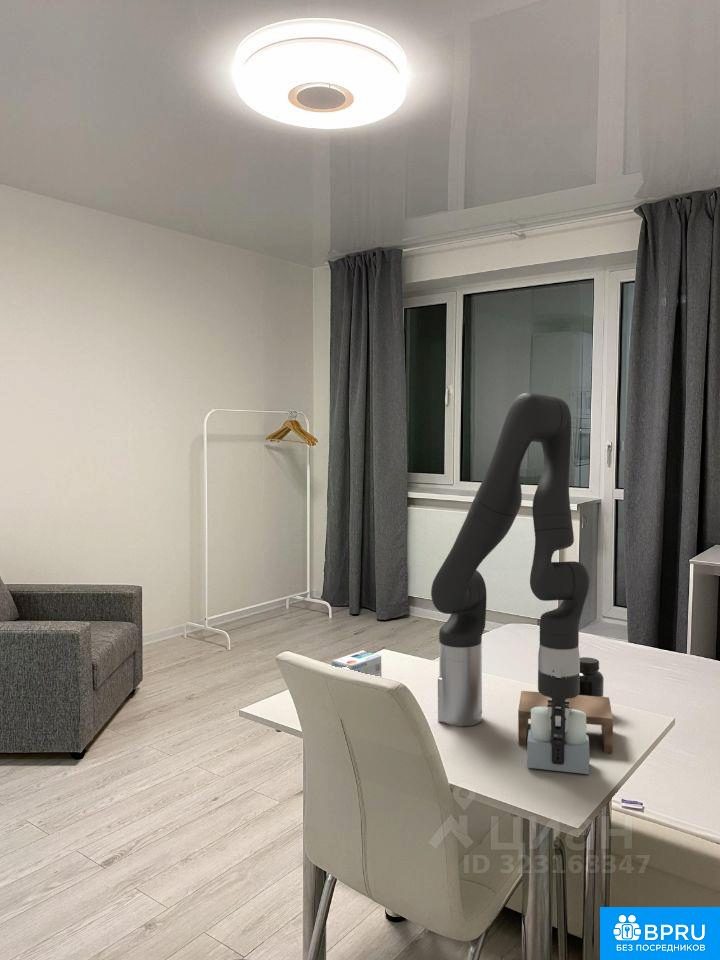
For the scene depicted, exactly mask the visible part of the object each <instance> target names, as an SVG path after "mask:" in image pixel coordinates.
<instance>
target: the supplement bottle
mask: <svg viewBox="0 0 720 960" xmlns="http://www.w3.org/2000/svg"><path fill="white" fill-rule="evenodd" d="M599 670H600V661H599V660H598V659H597V658H595V657H589V656H588V657H584V656H583V657H580V692H579V695H585V696H598V697H604V681H605V680H604V675H603V674H602V673H601V671H599Z"/></svg>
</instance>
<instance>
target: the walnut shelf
mask: <svg viewBox="0 0 720 960" xmlns="http://www.w3.org/2000/svg"><path fill="white" fill-rule="evenodd" d="M519 697H520V698H519V702H518V703H519V704H518V711H517V712H518V713H517V715H518V718H517V719H518V720H517V724H518V725H517V730H518V731H517V732H518V735H517V737H518V739H517V740H518V741H517V742H518V744H520V745H519V746H525V745H526V746H527V740H528V732H529V720H531V709H532V708H534V707H547V705H548V700H552V699H551V698H550V697H548V696H547V697H546V696H544V695H542V694H541V693H540V692H539V691H532V690H531V691H530V690H529V691H528V690H521V691H520V696H519ZM565 701H569V709H574V710H580V711H583V712H584V713H586V725H593V726H595V725H597V726H600V727H601V728H600V729H601V730H602V731H601V737H603V738H602V744H603V751H604V754H609V753H613V752H614V749H613V748H614V745H613V744H614V740H613V739H614V718H613V711H612V707H611V702H610V697H609V696H608V697H607V696H603V697H598V696H585V695H578V696H576V697H575V698H571V699H570V698H569V699H566V700H565ZM613 754H614V753H613Z"/></svg>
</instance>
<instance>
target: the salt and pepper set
mask: <svg viewBox="0 0 720 960" xmlns="http://www.w3.org/2000/svg"><path fill="white" fill-rule="evenodd" d="M564 716H565V715H564ZM554 737H555V738H562V735H558V734H554ZM550 739H551V730H549V714H548V712H547V707H534V708H532V709H531V719H530V729H528V731H527V741H526V746H527V748H526V751H527V752H526V754H527V755H526V756H527V757H526V759H527V760H526V761H527V762H526V763H527V765H526V766H527V767H526V768H528V769H536V770H537V769H538V770H548V771H554V772H555V771H557V772H565V773H573V774H574V773H575V774H585V775H590V739H589V735H587V724H586V713H584V712H583V711H580V710H574V709H569V716H568V731H567V732H565V741H566V744H565V746H564V764H563V765H558V764H553V763H552V745H551V743H550Z"/></svg>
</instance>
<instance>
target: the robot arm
mask: <svg viewBox="0 0 720 960" xmlns="http://www.w3.org/2000/svg"><path fill="white" fill-rule="evenodd" d="M532 442H535V443H540V445H541V449H542V453H543V467H542V471H541V472H542V473H541V476H540V479H539V481H538V484H537V487H536V490H535V493H534V496H533V501H532V520H533V529H534V530H533V531H534V539H535V540H534V549H533V551H534V552H533V558H532V563H531V564H532V565H531V570H530V574H529V575H530V576H529V585H530V590H531V592H532V594H533V595H534V597H536V598H537V599H538V600H539V601H544V602H548V601H562V602H561V603H560V605H559V607H557V608H555V609H552V610H547V611H546V612H544V613H542V614H541V615H540V617H539V646H538V647H539V648H538V654H537V690H538V691H537V692H540V693H541V694H542V695H544V696H546V697H547V696H548V697H550V698H551V699H552V700H548V705H547V712H548V714H549V730H551V739H550V743H551V745H552V763H553V764H558V765H563V764H564V746H565V744H566V741H565V732H567V731H568V716H569V701H565V700H566V699H569V698H570V699H571V698H575V697H576V696H578V695H579V692H580V658H581V656H580V655H581V654H580V649H579V643H580V641H579V640H580V639H579V638H580V637H579V635H580V634H579V633H580V631H579V627H580V622H581V621H580V620H581V618H582V617H581V616H582V613H583V609H584V606H585V603H586V600H587V597H588V593H589V589H590V576H589V572H588V570H587V569H586V567H585V565H583V564H582V563H581V562H579V561H552V559H553V555H554V554H555V552H556V551H560V550H564V549H567V548H570V547H572V546H573V544H574V541H575V538H574V537H575V536H574V527H573V520H572V519H573V517H572V510H571V500H570V469H571V443H572V416H571V410H570V407H569V405H568V404H567V402H566V401H565V400H563V399H562V398H559V397H557V396H551V395H548V394H547V395H546V394H539V393H535V392H524V393H521V394H520V395H518V396H517V397H516V398H515V399H514V400H513V402H512V403H511V405H510V407H509V409H508V411H507V414H506V416H505V419H504V422H503V425H502V428H501V430H500V434H499V437H498V440H497V442H496V447H495V449H494V451H493V454H492V458H491V460H490V463H489V464H488V467H487V469H486V472H485V474H484V476H483V479H482V482H481V484H480V485H479V487H478V490H476V491H477V492H476V494H475V496H474V498H473V500H472V503H471V505H470V507H469V510H468V512H467V515H466V517H465V519H464V521H463V524H462V526H461V528H460V529H459V531H458V534H457V537H456V539H455V541H454V542H453V545H452V547H451V549H450V551H449V553H448V554H447V556H446V558H445V559H444V561H443V563H442V564H441V566H440V568H439V569H438V572H437V573H436V575H435V577H434V578H433V582H432V584H431V592H430V595H431V596H430V597H431V600H432V601H431V602H432V605H433V606H434V607H435V609H436V610H437V611H439V612H440V613H442V614H445V615H446V614H447V615H449V618H448V619H447V621H446V622H445V623H444V624H443V625H442V626H441V627H440V629H439V632H438V633H439V634H438V643H439V644H438V645H439V649H438V654H439V655H438V656H439V657H438V658H439V664H438V665H439V668H438V669H439V672H438V673H439V676H438V677H437V722H440V723H445V724H447V725H450V726H456V727H469V726H475V725H477V724H480V723H481V722H482V720H483V676H482V675H483V673H482V672H483V667H482V666H483V663H482V662H483V656H482V655H483V653H482V648H483V646H482V643H483V642H482V638H483V634H484V632H485V628H486V621H487V620H486V619H487V617H486V616H487V596H488V595H487V587H486V582H485V580H484V577H483V575H482V574H481V573H480V572H479V571H478V570H477V569H478V568H479V566H480V565H481V563H483V561H484V560H485V559H486V558H487V557H488V555H490V554H491V553H492V551H494V550H495V548H496V547H497V546H498V545H499V544H500V543H501V542H502V541H503V539H505V537H506V536H507V534H509V532H510V530H511V528H512V526H513V524H514V522H515V520H516V518H517V515H518V513H519V510H520V508H521V506H522V502H523V501H522V499H523V496H522V495H523V494H522V483H521V471H520V470H521V466H522V462H523V459H524V457H525V455H526V453H527V450H528V448H529V447H530V444H531V443H532ZM564 715H565V716H564ZM554 734H558V735H562V738H555V737H554Z"/></svg>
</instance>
